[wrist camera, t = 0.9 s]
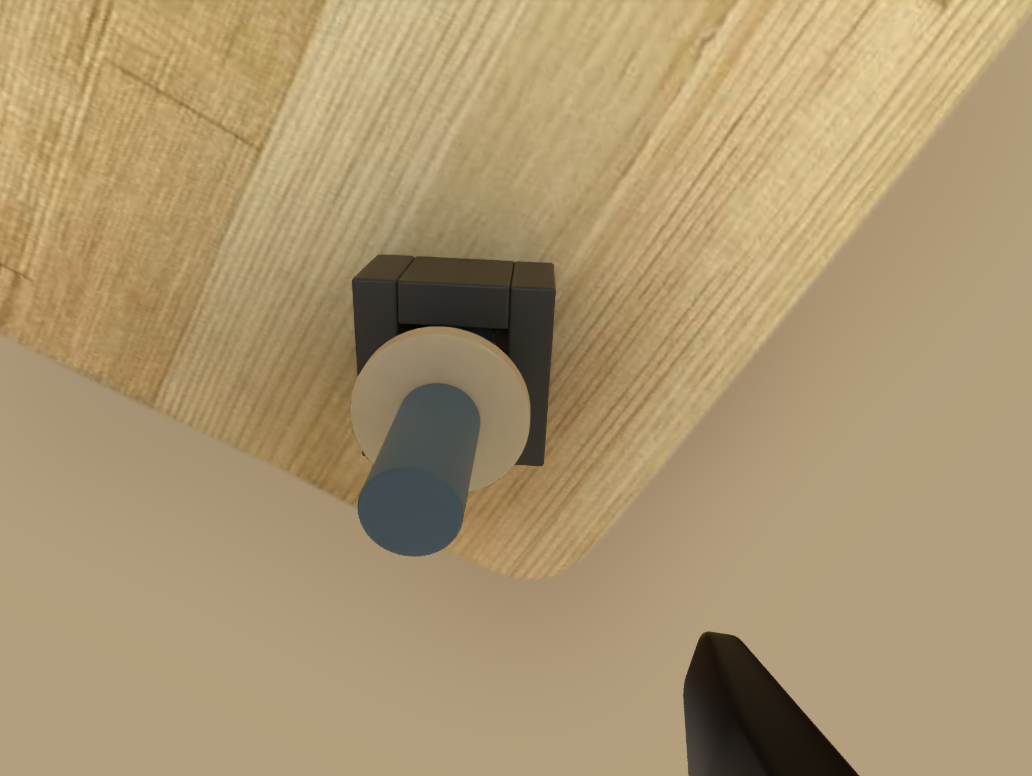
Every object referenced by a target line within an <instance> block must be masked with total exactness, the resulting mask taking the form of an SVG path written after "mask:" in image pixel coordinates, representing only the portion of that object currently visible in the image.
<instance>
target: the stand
mask: <svg viewBox="0 0 1032 776" xmlns="http://www.w3.org/2000/svg"><path fill="white" fill-rule="evenodd" d="M352 290H353V307H354V324H355V341H356V359H357V376H359V374H360V372H361V371H362V369H363V368H364V366H365V365H366V363H367V362H368V360H369V359H370V357H371V356H372V355H373V354H374V353H375V352H376V351H377V350H378V349H379V348H380V347H381V346H382V345H383V344H385V343H386V342H387V341H389V340H391V339H392V338H394V337H396V336H398V335H400V334H402V333H405V332H407V331H411V330H414V329H417V324H420V325H440V326H459V327H478V328H497V329H507V328H508V327H509V333H508V357H509V358H510V359H511V361H512V362H513V363H514V364H515V366H516V367H517V369H518V370H519V372H520V373H521V375H522V377H523V380H524V382H525V384H526V387H527V390H528V394H529V400H530V429H529V435H528V439H527V442H526V445H525V447H524V449H523V452H522V454H521V455H520V457H519V459H518V460H517V462H516V463H515V464H514V465H530V466H543V464H544V454H545V439H546V425H547V410H548V396H549V381H550V367H551V352H552V338H553V324H554V309H555V295H556V288H555V275H554V265H553V264H552V263H535V262H515V264H514V262H512V261H497V260H477V259H458V258H438V257H416V258H415V257H413V256H397V255H377V256H376V257H375V258H374V259H373V260H372V261H371V262H370V263H369V264H368V265H366V266H365V267H364V268H363V269H362V270H361V271H360V272H359V273H358V274H357V275H356V276H355V277H354V278H353V280H352ZM362 455H363V456H365V454H364V453H363V451H362Z"/></svg>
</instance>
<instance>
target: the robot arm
mask: <svg viewBox="0 0 1032 776" xmlns="http://www.w3.org/2000/svg"><path fill="white" fill-rule="evenodd" d="M683 697H684V712H685V713H684V714H685V728H686V743H687V759H688V774H689V776H859V775H858V774H857V773H856V771H855V770H854V769H853V768H852V767H851V766H850V765H849V763H848V762H847V761H846V760H845V759H844V758H843V757H842V755H841V754H840V753H839V752H838V751H837V750H836V748H835V747H834V746H833V745H832V744H831V743H830V742H829V740H828V739H827V738H826V737H825V736H824V735H823V734H822V732H821V731H820V730H819V729H818V728H817V727H816V726H815V725H814V723H813V722H812V721H811V720H810V719H809V718H808V716H807V715H806V714H805V713H804V712H803V711H802V710H801V709H800V707H799V706H798V705H797V704H796V703H795V701H794V700H793V699H792V698H791V697H790V696H789V695H788V693H787V692H786V691H785V690H784V689H783V688H782V687H781V685H780V684H779V683H778V682H777V681H776V680H775V679H774V677H773V676H772V675H771V674H770V673H769V672H768V671H767V669H766V668H765V667H764V666H763V665H762V664H761V662H760V661H759V660H758V659H757V658H756V657H755V656H754V654H753V653H752V652H751V651H750V650H749V649H748V648H747V646H746V645H745V644H744V643H743V642H742V641H741V640H740V639H739V638H737V637H736V636H733V635H728V634H722V633H715V632H705V633H703V634H702V635H701V637H700V638H699V640H698V643H697V646H696V649H695V652H694V655H693V658H692V661H691V663H690V666H689V669H688V672H687V675H686V678H685V683H684V694H683Z"/></svg>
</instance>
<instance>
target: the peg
mask: <svg viewBox="0 0 1032 776" xmlns="http://www.w3.org/2000/svg"><path fill="white" fill-rule="evenodd" d="M350 416H351V423H352V427H353V431H354V434H355V437H356V439H357V442H358V444H359V446H360V448H361V449H362V451H363V453H364V454H365V456H366V457H367V458H368V459H369V461H370V462H371V463H372V464H373V467H372V469H371V471H370V473H369V475H368V478H367V480H366V482H365V484H364V486H363V489H362V491H361V493H360V496H359V500H358V515H359V518H360V522H361V524H362V526H363V528H364V530H365V531H366V533H367V534H368V536H369V537H370V538H371V539H372V540H373V541H375V542H376V543H377V544H378V545H379V546H381V547H383V548H384V549H386V550H389V551H391V552H393V553H396V554H400V555H405V556H425V555H429V554H432V553H435V552H438V551H440V550H442V549H443V548H445V547H446V546H448V545H449V544H450V543H451V542H452V541H453V540H454V539H455V538H456V536H457V535H458V533H459V531H460V529H461V526H462V522H463V517H464V512H465V507H466V501H467V496H468V493H471V492H474V491H477V490H480V489H482V488H484V487H486V486H488V485H490V484H492V483H494V482H495V481H497V480H498V479H500V478H501V477H502V476H503V475H505V474H506V473H507V472H508V471H509V470H510V469H511V468H512V467H513V465H514V464H515V463H516V462H517V460H518V459H519V457H520V455H521V454H522V452H523V449H524V447H525V445H526V442H527V439H528V435H529V429H530V400H529V394H528V390H527V387H526V384H525V382H524V380H523V377H522V375H521V373H520V372H519V370H518V369H517V367H516V366H515V364H514V363H513V362H512V361H511V359H510V358H509V357H508V356H507V355H506V354H505V353H504V352H503V351H502V350H501V349H499V348H498V347H497V346H495V337H494V334H493V332H492V329H491V328H478V327H459V326H440V325H438V326H437V327H424V328H418V329H414V330H411V331H407V332H405V333H402V334H400V335H398V336H396V337H394V338H392V339H391V340H389V341H387V342H386V343H385V344H383V345H382V346H381V347H380V348H379V349H378V350H377V351H376V352H375V353H374V354H373V355H372V356H371V357H370V359H369V360H368V362H367V363H366V365H365V366H364V368H363V369H362V371H361V372H360V374H359V376H358V378H357V380H356V382H355V385H354V388H353V391H352V396H351V402H350Z"/></svg>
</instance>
